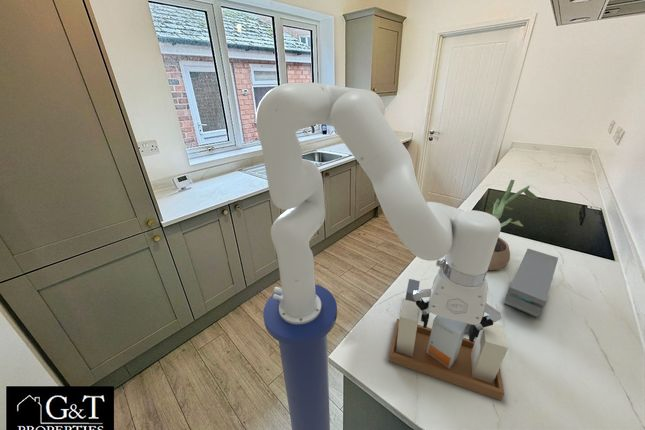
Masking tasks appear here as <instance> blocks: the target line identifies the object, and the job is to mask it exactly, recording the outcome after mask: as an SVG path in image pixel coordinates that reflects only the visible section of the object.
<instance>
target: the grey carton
mask: <svg viewBox="0 0 645 430" xmlns="http://www.w3.org/2000/svg"><path fill="white" fill-rule="evenodd" d="M420 283H421V281H420V280H417V279H411V278H408V282H407V287H406V293H405V298H404V300H408V301H413V302H415V300H414V298H413V291H416V290H420Z"/></svg>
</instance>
